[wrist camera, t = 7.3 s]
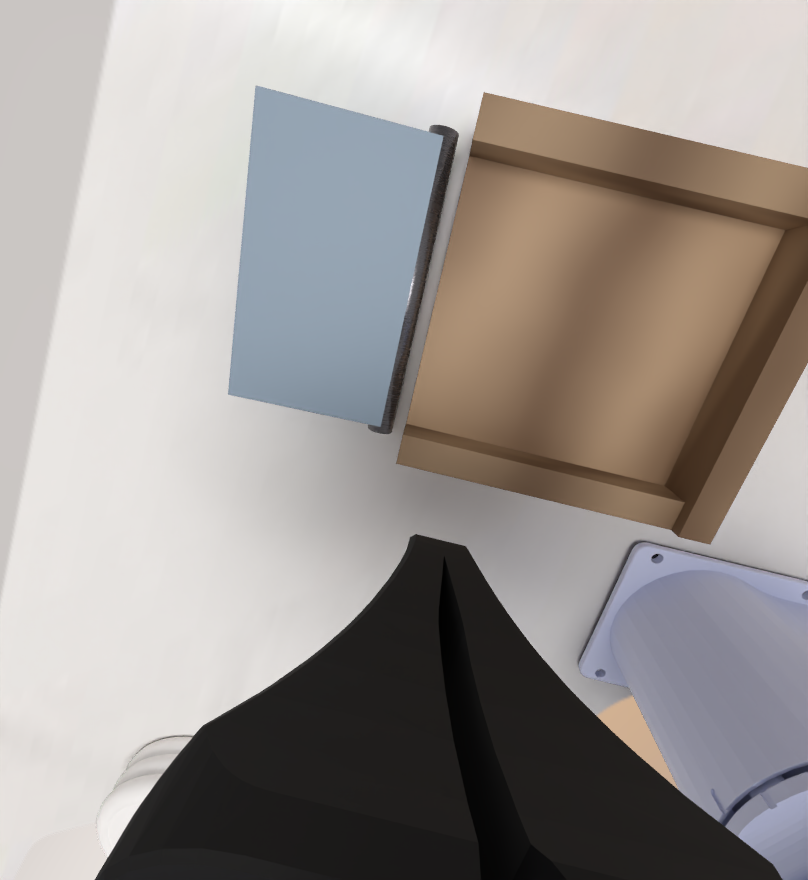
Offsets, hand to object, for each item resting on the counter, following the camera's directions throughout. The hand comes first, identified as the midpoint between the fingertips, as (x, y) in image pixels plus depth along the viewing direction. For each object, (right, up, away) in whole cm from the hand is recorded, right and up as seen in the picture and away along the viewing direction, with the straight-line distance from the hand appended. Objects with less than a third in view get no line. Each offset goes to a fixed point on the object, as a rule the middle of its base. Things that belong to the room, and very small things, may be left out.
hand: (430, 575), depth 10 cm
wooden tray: (+6, +7, +7) cm, 12 cm away
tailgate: (0, +9, +6) cm, 10 cm away
